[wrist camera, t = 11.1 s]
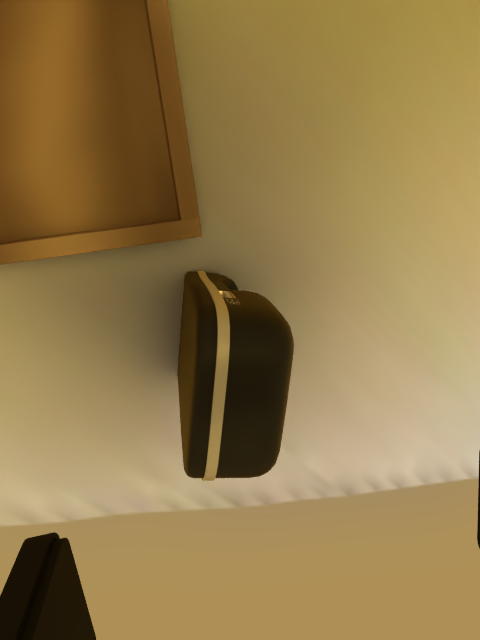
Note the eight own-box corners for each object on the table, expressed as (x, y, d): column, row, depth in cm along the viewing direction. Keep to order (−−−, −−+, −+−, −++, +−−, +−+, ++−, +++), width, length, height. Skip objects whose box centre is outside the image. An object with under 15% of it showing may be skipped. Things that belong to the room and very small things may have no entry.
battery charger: (238, 382, 27) (287, 500, 16) (176, 380, 26) (184, 502, 15) (250, 271, 25) (314, 319, 14) (184, 265, 25) (200, 312, 14)
